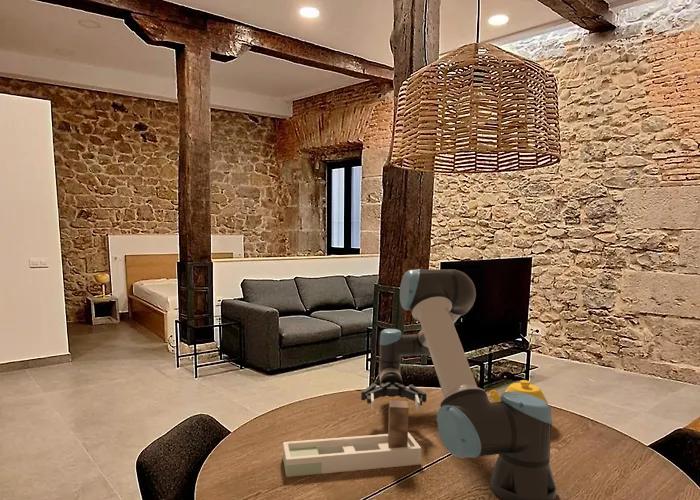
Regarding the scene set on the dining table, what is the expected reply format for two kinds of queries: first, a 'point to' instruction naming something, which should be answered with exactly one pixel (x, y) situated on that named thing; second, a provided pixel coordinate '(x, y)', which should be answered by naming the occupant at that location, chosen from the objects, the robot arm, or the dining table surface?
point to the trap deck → (347, 454)
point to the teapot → (520, 390)
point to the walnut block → (398, 424)
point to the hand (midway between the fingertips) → (395, 406)
